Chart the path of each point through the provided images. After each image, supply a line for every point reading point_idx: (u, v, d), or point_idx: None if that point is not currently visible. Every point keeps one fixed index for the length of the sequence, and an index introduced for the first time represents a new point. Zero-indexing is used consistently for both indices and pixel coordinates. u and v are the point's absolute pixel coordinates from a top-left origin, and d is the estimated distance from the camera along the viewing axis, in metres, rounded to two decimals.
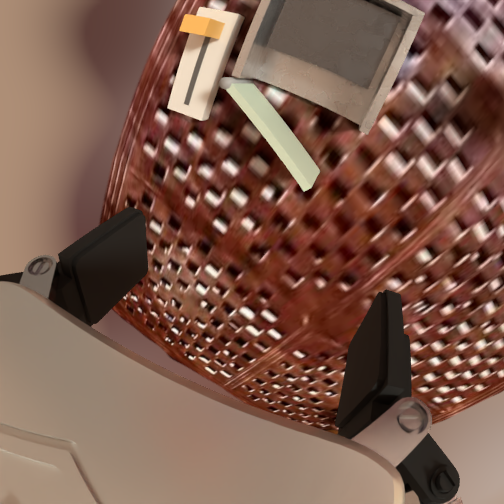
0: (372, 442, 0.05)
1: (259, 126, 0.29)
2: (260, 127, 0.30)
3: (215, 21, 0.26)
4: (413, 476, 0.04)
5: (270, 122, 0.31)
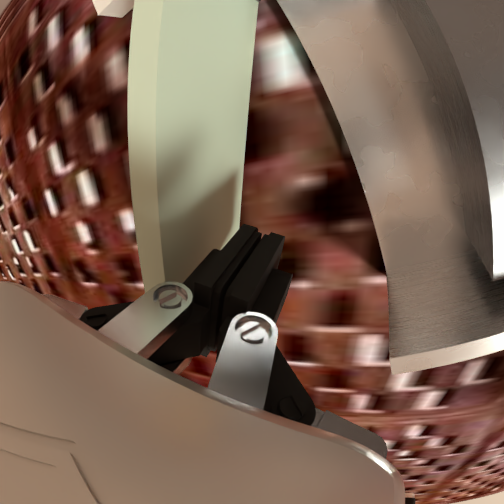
0: (232, 369, 0.06)
1: (136, 136, 0.07)
2: (137, 142, 0.07)
3: None
4: None
5: (193, 133, 0.09)
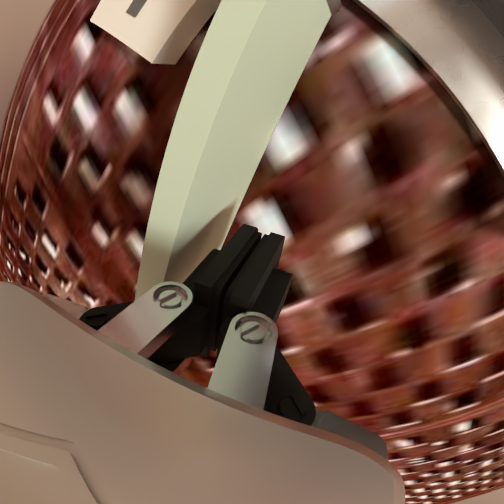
0: (232, 369, 0.06)
1: (180, 138, 0.07)
2: (179, 146, 0.07)
3: None
4: None
5: (232, 143, 0.08)
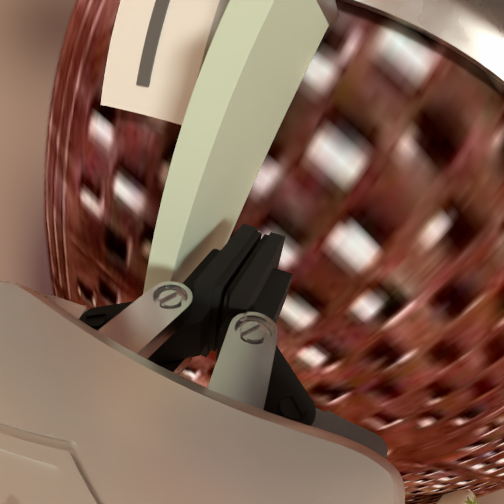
0: (232, 369, 0.06)
1: (183, 159, 0.07)
2: (182, 165, 0.07)
3: None
4: None
5: (232, 159, 0.09)
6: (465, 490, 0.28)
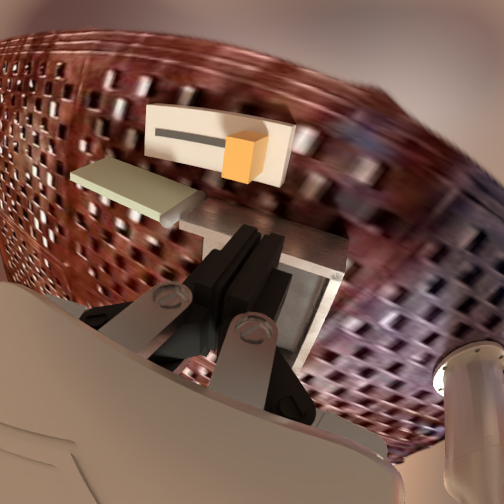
0: (232, 369, 0.06)
1: (119, 197, 0.28)
2: (118, 197, 0.28)
3: None
4: None
5: None
6: None
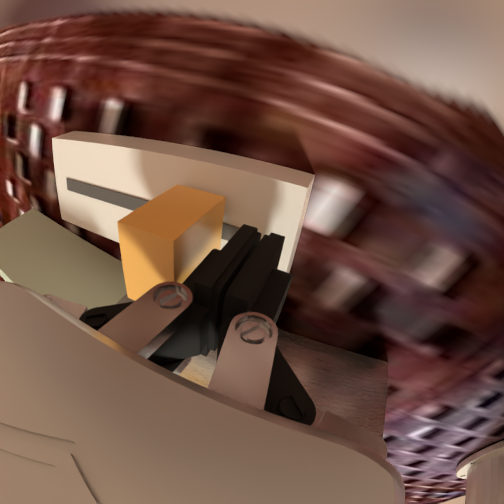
0: (232, 369, 0.06)
1: None
2: None
3: None
4: None
5: None
6: None
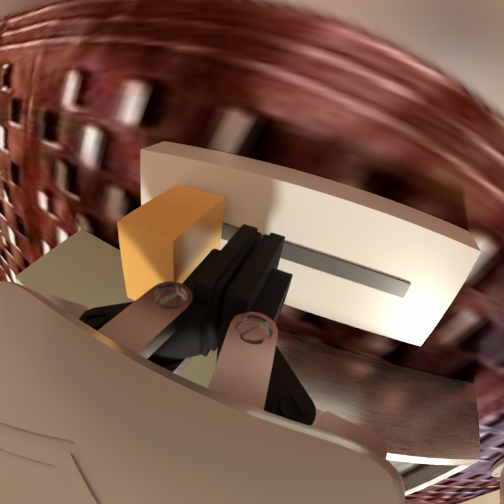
0: (232, 369, 0.06)
1: None
2: None
3: None
4: None
5: None
6: None
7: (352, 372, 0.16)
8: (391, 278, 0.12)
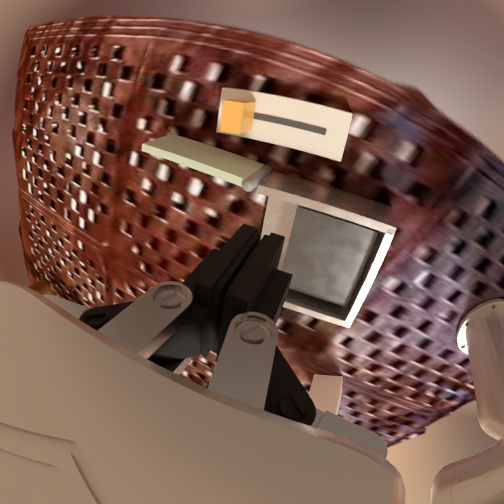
0: (232, 369, 0.06)
1: (199, 165, 0.33)
2: (198, 165, 0.33)
3: None
4: None
5: None
6: None
7: (314, 185, 0.35)
8: (318, 127, 0.31)
